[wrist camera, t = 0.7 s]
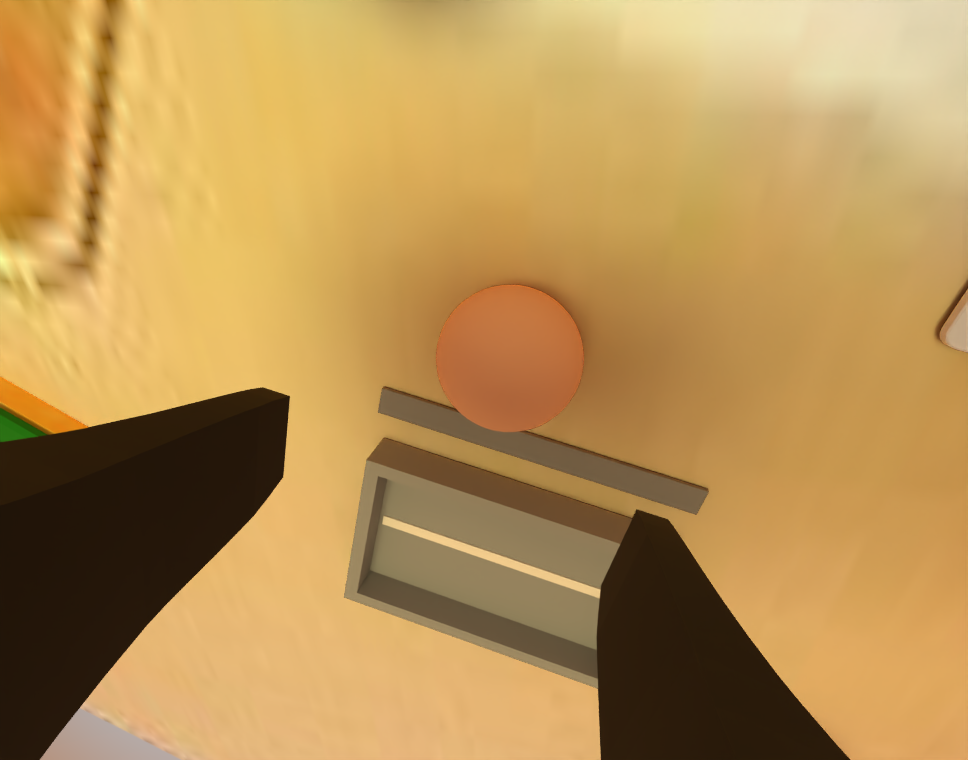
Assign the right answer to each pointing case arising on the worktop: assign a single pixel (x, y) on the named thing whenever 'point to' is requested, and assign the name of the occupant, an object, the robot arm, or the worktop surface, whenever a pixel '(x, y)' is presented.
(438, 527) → the tray
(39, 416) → the dish sponge
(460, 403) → the ball
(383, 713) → the worktop surface
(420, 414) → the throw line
